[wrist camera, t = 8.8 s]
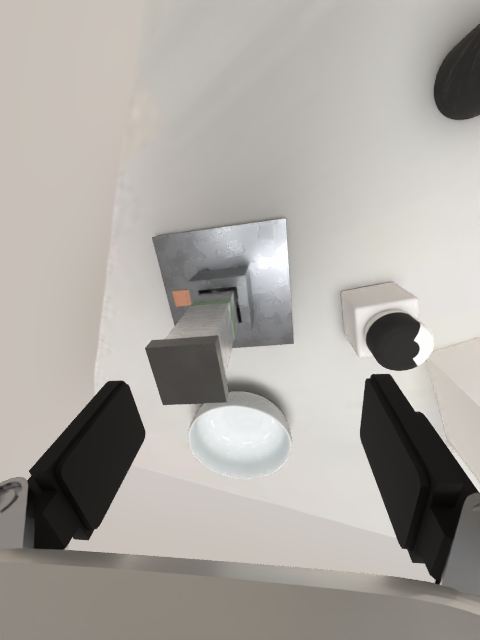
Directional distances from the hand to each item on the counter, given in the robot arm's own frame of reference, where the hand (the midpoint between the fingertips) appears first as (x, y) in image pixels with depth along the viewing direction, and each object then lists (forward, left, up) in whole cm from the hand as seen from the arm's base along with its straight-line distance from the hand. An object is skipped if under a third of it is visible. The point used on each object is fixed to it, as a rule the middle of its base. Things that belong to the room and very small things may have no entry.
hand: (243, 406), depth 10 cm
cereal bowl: (+28, -6, -30) cm, 41 cm away
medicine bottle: (+9, +15, -30) cm, 34 cm away
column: (+4, -5, -22) cm, 23 cm away
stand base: (+4, -5, -29) cm, 30 cm away
